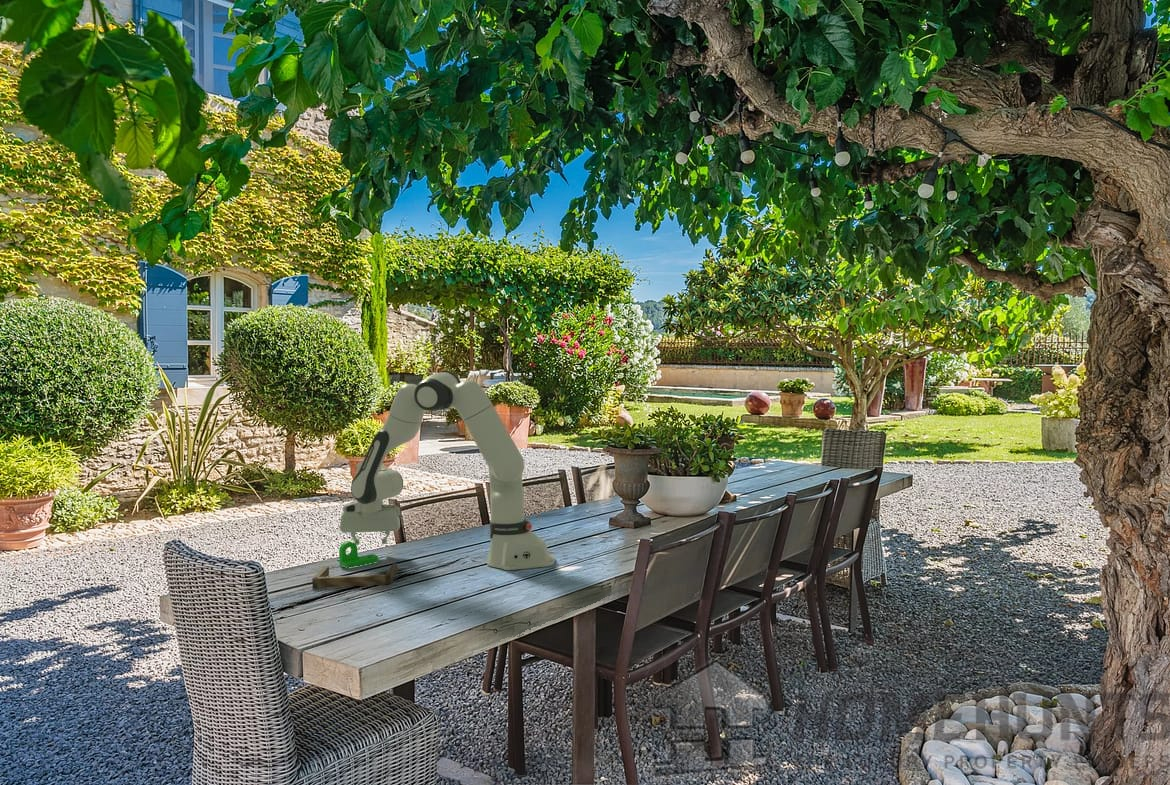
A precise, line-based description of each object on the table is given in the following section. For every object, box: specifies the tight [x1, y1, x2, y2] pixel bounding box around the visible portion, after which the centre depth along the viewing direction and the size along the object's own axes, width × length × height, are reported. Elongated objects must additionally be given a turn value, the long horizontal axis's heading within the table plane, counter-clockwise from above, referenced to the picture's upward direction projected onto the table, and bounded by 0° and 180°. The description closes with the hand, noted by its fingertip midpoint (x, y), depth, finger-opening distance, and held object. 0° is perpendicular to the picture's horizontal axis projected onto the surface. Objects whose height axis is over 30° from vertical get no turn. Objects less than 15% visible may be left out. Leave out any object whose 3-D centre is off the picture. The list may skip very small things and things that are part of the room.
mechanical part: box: [338, 540, 379, 568], centre depth 254 cm, size 12×6×8 cm, turn 132°
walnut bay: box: [311, 562, 399, 589], centre depth 235 cm, size 23×14×3 cm, turn 95°
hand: (370, 544), depth 265 cm, fingers open, 8 cm apart
